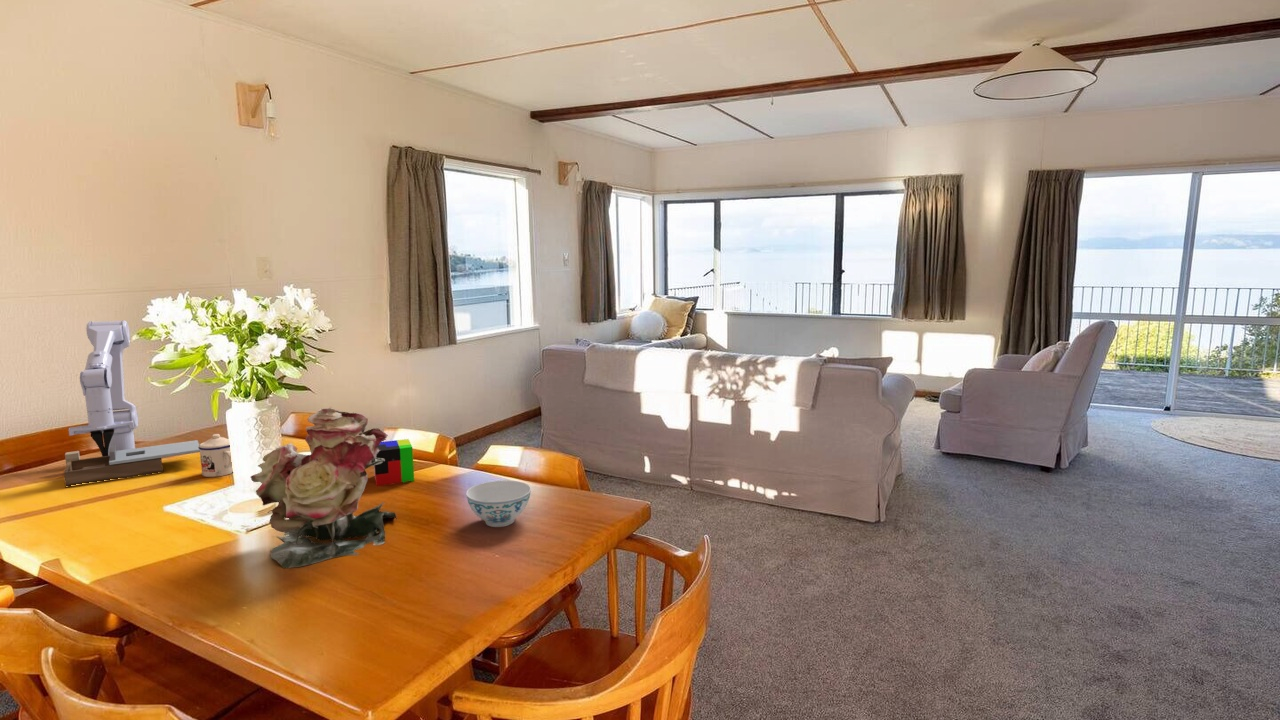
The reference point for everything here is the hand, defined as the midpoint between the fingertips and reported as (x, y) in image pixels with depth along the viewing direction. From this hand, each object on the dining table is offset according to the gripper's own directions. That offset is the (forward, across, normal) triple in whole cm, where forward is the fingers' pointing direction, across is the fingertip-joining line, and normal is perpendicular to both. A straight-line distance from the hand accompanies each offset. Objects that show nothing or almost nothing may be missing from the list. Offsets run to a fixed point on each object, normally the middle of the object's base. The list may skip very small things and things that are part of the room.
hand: (105, 455), depth 193 cm
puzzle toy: (+6, +66, -54) cm, 86 cm away
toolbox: (+6, +2, +1) cm, 7 cm away
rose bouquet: (+6, +41, -91) cm, 100 cm away
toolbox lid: (+2, +12, +1) cm, 12 cm away
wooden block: (+6, -8, +11) cm, 15 cm away
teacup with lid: (+6, +27, -18) cm, 33 cm away
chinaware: (+6, +76, -103) cm, 128 cm away
